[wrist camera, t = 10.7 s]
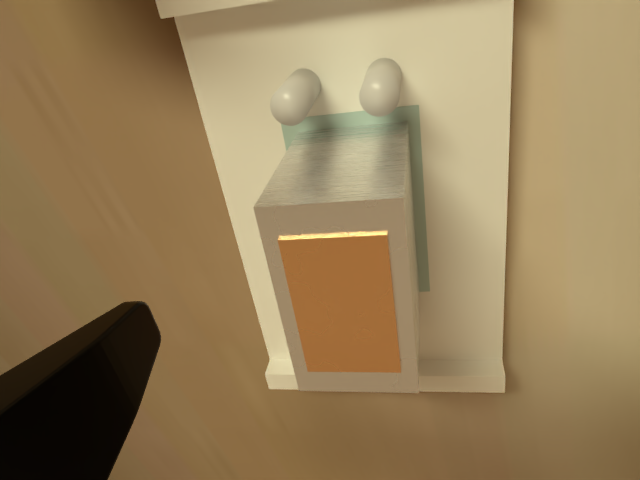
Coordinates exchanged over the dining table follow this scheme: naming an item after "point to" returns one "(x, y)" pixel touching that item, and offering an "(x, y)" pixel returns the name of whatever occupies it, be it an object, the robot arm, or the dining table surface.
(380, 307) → the block
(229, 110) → the pin tray
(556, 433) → the dining table surface
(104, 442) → the robot arm
